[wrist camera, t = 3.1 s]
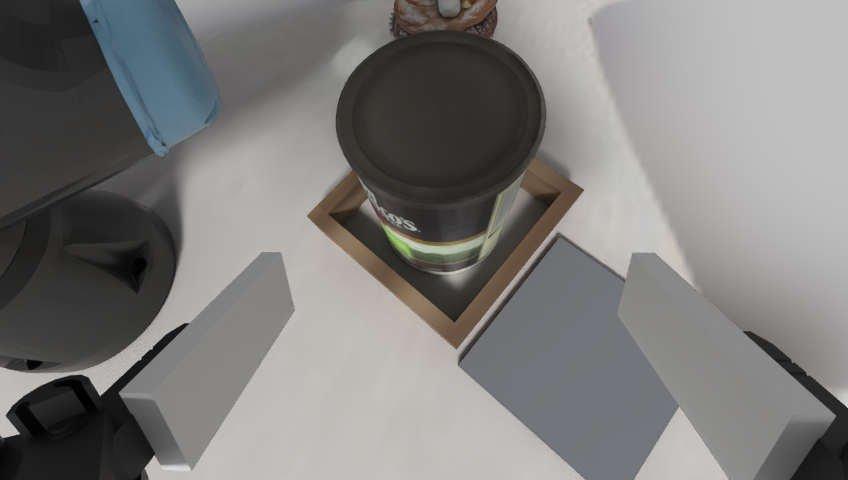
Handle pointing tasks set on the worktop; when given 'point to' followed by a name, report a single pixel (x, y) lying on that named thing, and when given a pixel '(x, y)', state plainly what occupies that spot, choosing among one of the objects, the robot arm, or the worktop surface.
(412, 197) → the coffee can
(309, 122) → the worktop surface
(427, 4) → the cupcake
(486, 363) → the rubber pad
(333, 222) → the walnut collar
